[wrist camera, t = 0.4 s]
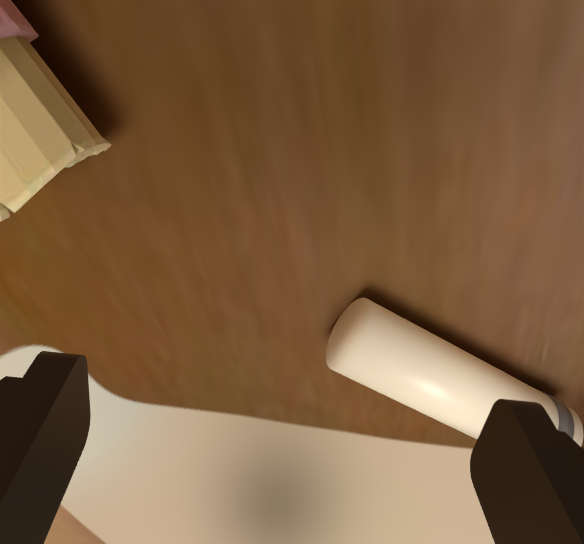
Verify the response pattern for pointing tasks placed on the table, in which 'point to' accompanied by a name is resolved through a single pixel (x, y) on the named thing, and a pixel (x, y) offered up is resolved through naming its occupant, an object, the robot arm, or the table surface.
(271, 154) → the table surface
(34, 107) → the scroll
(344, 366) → the white long cylinder
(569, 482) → the robot arm
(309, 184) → the table surface
